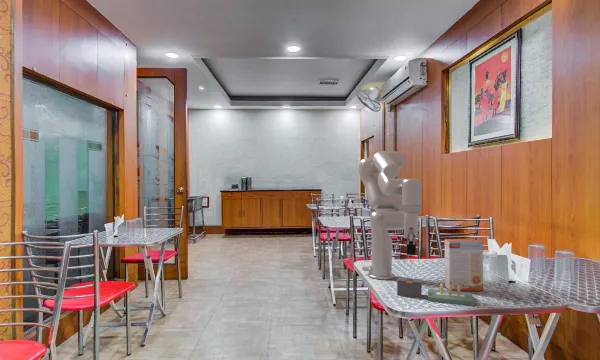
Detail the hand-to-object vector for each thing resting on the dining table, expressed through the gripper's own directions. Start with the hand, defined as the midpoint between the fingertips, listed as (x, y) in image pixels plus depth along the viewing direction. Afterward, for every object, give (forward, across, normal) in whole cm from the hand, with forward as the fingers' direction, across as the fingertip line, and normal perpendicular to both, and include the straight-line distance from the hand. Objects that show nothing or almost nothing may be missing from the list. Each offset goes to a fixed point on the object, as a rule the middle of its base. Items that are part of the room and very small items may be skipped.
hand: (411, 252), depth 145 cm
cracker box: (+17, -16, +21) cm, 31 cm away
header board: (+17, 0, +14) cm, 22 cm away
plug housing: (+17, 0, -1) cm, 17 cm away
